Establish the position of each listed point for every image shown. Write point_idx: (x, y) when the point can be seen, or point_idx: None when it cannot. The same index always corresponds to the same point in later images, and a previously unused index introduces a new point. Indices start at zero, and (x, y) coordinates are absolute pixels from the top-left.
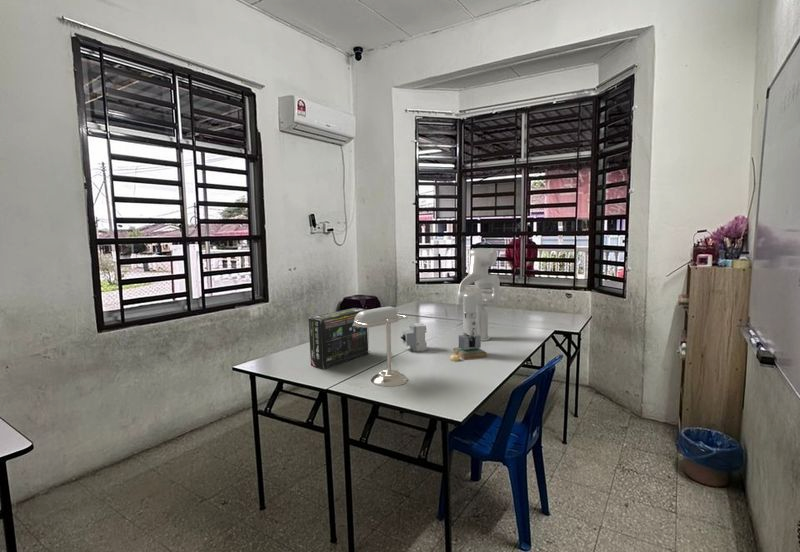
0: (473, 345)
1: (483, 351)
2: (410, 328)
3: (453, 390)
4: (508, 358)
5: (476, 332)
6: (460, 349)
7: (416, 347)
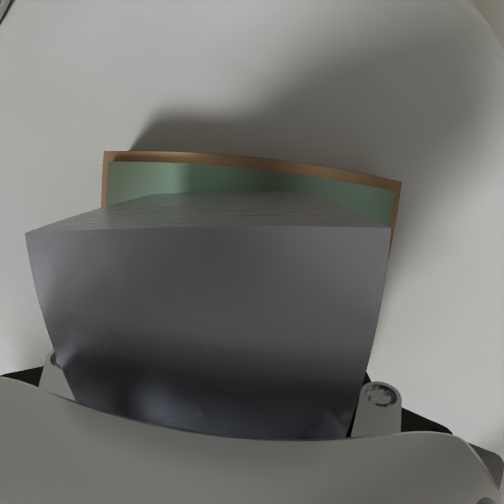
0: None
1: (383, 207)
2: None
3: None
4: (465, 60)
5: (477, 500)
6: None
7: None
